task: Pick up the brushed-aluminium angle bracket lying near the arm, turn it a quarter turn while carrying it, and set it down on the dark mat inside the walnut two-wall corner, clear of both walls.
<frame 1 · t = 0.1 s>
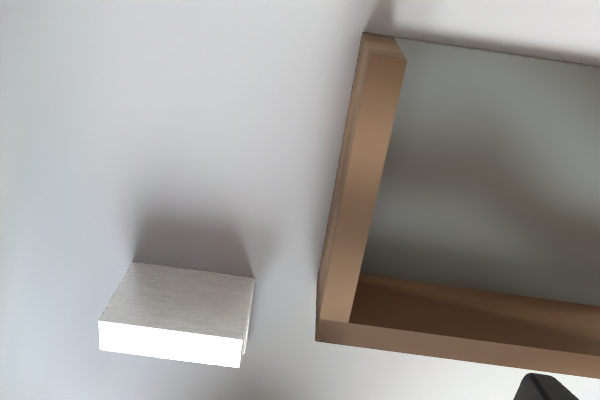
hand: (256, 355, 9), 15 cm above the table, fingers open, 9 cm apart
arena: (495, 195, 23), on the table
bracket: (192, 300, 27), on the table
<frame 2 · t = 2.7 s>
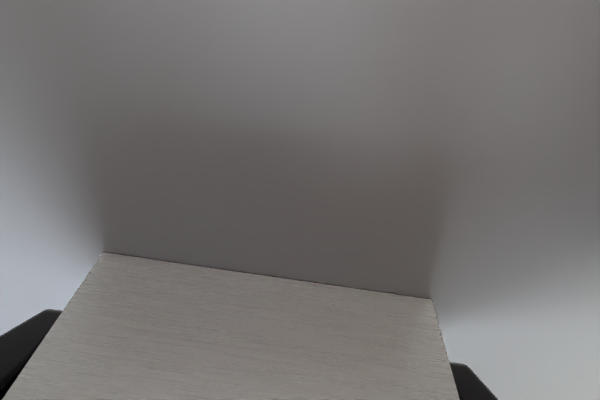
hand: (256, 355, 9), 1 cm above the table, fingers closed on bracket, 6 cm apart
bracket: (257, 358, 11), on the table, touching gripper
when the fingers open (3 cm above the table, at t = 6.9 s): bracket drops 2 cm, resting on arena.
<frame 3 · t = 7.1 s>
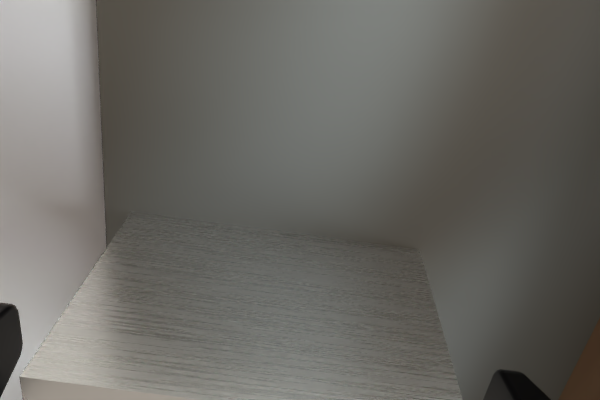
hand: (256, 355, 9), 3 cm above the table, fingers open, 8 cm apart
arena: (379, 284, 12), on the table
bracket: (266, 306, 12), resting on arena
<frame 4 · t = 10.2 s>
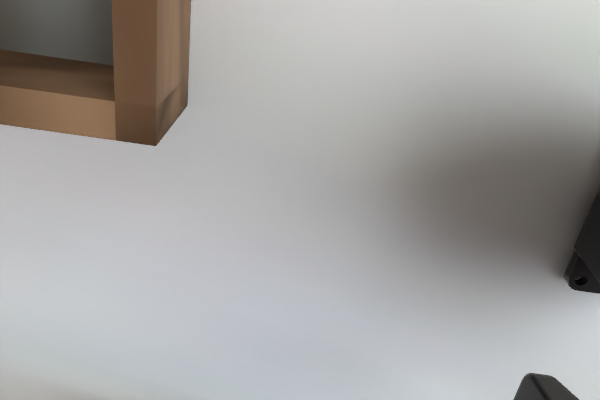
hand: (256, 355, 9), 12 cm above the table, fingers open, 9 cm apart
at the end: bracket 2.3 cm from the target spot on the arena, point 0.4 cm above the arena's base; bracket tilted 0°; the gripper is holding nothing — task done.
